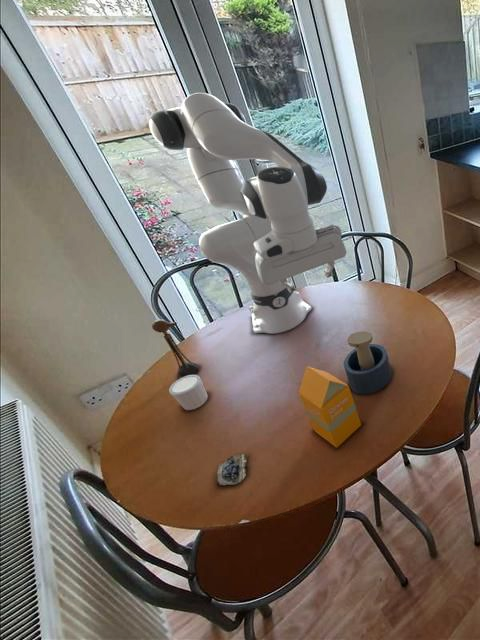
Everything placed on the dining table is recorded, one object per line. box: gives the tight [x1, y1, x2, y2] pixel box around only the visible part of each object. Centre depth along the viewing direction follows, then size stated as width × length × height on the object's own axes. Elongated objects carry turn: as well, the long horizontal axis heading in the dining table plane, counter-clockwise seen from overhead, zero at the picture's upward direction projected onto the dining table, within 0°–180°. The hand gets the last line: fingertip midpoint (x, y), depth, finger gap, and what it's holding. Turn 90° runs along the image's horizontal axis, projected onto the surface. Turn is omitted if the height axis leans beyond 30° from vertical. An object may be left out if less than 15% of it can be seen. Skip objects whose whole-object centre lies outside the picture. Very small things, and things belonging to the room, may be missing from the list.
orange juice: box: [298, 365, 362, 448], centre depth 97 cm, size 8×9×20 cm
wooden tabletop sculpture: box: [151, 319, 200, 378], centre depth 114 cm, size 6×5×20 cm
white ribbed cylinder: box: [168, 374, 209, 411], centre depth 108 cm, size 7×7×7 cm
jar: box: [343, 343, 392, 395], centre depth 114 cm, size 12×12×8 cm
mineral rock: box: [216, 453, 247, 486], centre depth 92 cm, size 7×8×2 cm
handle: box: [346, 330, 375, 371], centre depth 112 cm, size 5×6×15 cm
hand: (311, 283), depth 102 cm, fingers open, 8 cm apart
